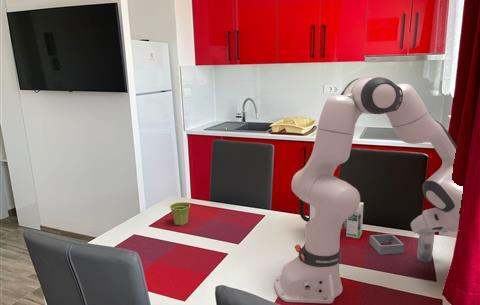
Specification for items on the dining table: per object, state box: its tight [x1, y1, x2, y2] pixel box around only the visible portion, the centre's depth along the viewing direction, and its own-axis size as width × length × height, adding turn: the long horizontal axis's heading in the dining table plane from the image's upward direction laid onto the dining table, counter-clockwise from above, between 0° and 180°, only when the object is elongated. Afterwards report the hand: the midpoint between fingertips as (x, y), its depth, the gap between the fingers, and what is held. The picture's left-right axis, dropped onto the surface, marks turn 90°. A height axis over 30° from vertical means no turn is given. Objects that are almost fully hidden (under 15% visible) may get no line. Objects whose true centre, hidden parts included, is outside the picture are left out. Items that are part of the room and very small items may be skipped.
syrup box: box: [345, 201, 364, 239], centre depth 162 cm, size 6×6×14 cm
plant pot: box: [169, 201, 191, 226], centre depth 178 cm, size 9×9×9 cm
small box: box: [341, 218, 347, 230], centre depth 171 cm, size 5×4×8 cm
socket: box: [368, 233, 406, 256], centre depth 151 cm, size 10×10×4 cm
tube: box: [416, 232, 436, 263], centre depth 141 cm, size 5×5×14 cm
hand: (431, 231), depth 138 cm, fingers open, 8 cm apart
